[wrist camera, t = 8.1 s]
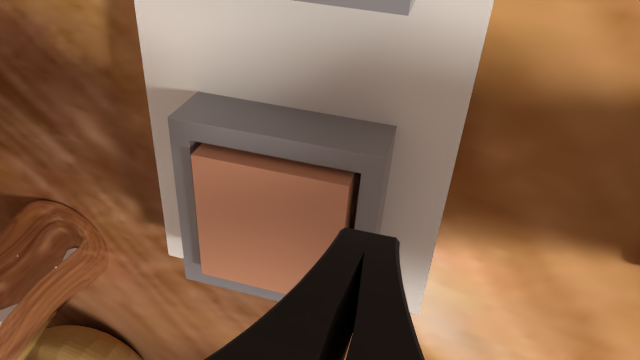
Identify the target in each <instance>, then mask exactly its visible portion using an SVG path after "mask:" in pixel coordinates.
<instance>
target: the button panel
mask: <svg viewBox="0 0 640 360" xmlns="http://www.w3.org/2000/svg"><path fill="white" fill-rule="evenodd" d="M493 3H494V0H134V4H135V12H136V19H137V26H138V33H139V41H140V48H141V55H142V63H143V70H144V77H145V85H146V92H147V99H148V106H149V114H150V121H151V128H152V136H153V143H154V150H155V158H156V165H157V172H158V179H159V187H160V194H161V201H162V209H163V216H164V223H165V231H166V238H167V245H168V252H169V255H171V256H175V257H179V258H183V259H184V265H185V273H186V279H190V280H194V281H198V282H202V283H206V284H210V285H214V286H218V287H222V288H226V289H230V290H234V291H238V292H242V293H246V294H250V295H254V296H259V297H263V298H267V299H271V300H275V301H280V300H281V299H282V298H283V297H284V296H285V295H286V294H283V293H279V292H275V291H271V290H267V289H263V288H259V287H254V286H250V285H246V284H242V283H238V282H234V281H230V280H226V279H222V278H218V277H214V276H210V275H206V274H202V270H201V259H200V249H199V238H198V227H197V216H196V205H195V195H194V184H193V173H192V162H191V154H192V153H193V152H194V151H195V150H196V149H197V148H198V147H199V146H200V145H201V144H202V143H207V144H212V145H217V146H222V147H227V148H233V149H238V150H243V151H248V152H253V153H258V154H263V155H269V156H274V157H279V158H284V159H289V160H294V161H299V162H305V163H310V164H315V165H320V166H325V167H330V168H336V169H341V170H346V171H351V172H356V173H361V179H360V187H359V195H358V204H357V212H356V220H355V228H354V229H356V230H361V231H366V232H371V233H376V234H381V235H386V236H391V237H396V238H397V239H398V241H399V242H400V248H399V255H400V267H401V274H402V281H403V286H404V291H405V295H406V299H407V304H408V308H409V312H410V313H411V314H415V315H419V312H420V308H421V303H422V299H423V295H424V291H425V287H426V282H427V278H428V274H429V270H430V266H431V262H432V257H433V253H434V249H435V245H436V241H437V236H438V232H439V228H440V224H441V220H442V216H443V211H444V207H445V203H446V199H447V195H448V191H449V186H450V182H451V178H452V174H453V170H454V165H455V161H456V157H457V153H458V149H459V145H460V140H461V136H462V132H463V128H464V124H465V120H466V115H467V111H468V107H469V103H470V99H471V94H472V90H473V86H474V82H475V78H476V74H477V69H478V65H479V61H480V57H481V53H482V49H483V44H484V40H485V36H486V32H487V28H488V23H489V19H490V15H491V11H492V7H493Z"/></svg>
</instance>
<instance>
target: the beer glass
mask: <svg viewBox="0 0 640 360" xmlns="http://www.w3.org/2000/svg"><path fill="white" fill-rule="evenodd" d="M107 263H108V254H107V249H106V246H105V244H104V241H103V239H102V238H101V236H100V234H99V233H98V232H97V230H96V229H95V228H94V227H93V226H92V225H91V223H90V222H88V221H87V220H86V219H85V218H84V217H83V216H81V215H80V214H79V213H77V212H76V211H74V210H73V209H71V208H69V207H67V206H65V205H62V204H60V203H56V202H52V201H46V200H38V201H33V202H30V203H28V204H26V205H25V206H24V207H22V208H21V209H20V210H19V211H18V212H17V214H16V215H15V216H14V217H13V218H12V219H11V221H10V222H9V223H8V224H7V225H6V226H5V228H4V229H3V230H2V231H1V232H0V360H26V358H27V356H28V355H29V353H30V352H31V350H32V349H33V347H34V345H35V344H36V342H37V341H38V339H39V338H40V336H41V335H42V333H43V332H44V330H45V329H46V327H47V326H48V324H49V323H50V321H51V320H52V319H53V318H54V316H55V315H56V314H57V313H58V311H59V310H60V309H61V308H62V307H63V306H64V305H65V304H66V303H67V302H68V301H69V300H70V299H71V298H72V297H74V296H75V295H76V294H77V293H79V292H80V291H81V290H83V289H84V288H85V287H87V286H88V285H89V284H91V283H92V282H93V281H95V280H96V279H97V278H98V277H99V276H100V275H101V274H102V273H103V272H104V271H105V269H106V267H107Z"/></svg>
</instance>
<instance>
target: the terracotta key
mask: <svg viewBox="0 0 640 360" xmlns="http://www.w3.org/2000/svg"><path fill="white" fill-rule="evenodd" d="M191 162H192V173H193V184H194V195H195V205H196V216H197V227H198V238H199V249H200V259H201V270H202V274H206V275H210V276H214V277H218V278H222V279H226V280H230V281H234V282H238V283H242V284H246V285H250V286H254V287H259V288H263V289H267V290H271V291H275V292H279V293H283V294H287V293H288V292H289V291H290V290H291V289H292V288H294V287H295V286H296V285H297V283H298V282H299V281H300V280H301V279H302V278H303V277H304V276H305V275H306V274H307V273H308V271H309V270H310V269H311V268H312V267H313V266H314V265H315V264H316V262H317V261H318V260H319V259H320V258H321V256H322V255H323V254H324V253H325V251H326V250H327V249H328V248H329V246H330V245H331V243H332V242H333V241H334V239H335V238H336V236H337V235H338V233H339V231H340V230H342V229H343V228H345V227H346V228H351V229H354V228H355V220H356V212H357V204H358V195H359V187H360V179H361V173H356V172H351V171H346V170H341V169H336V168H330V167H325V166H320V165H315V164H310V163H305V162H299V161H294V160H289V159H284V158H279V157H274V156H269V155H263V154H258V153H253V152H248V151H243V150H238V149H233V148H227V147H222V146H217V145H212V144H207V143H202V144H201V145H200V146H199V147H198V148H197V149H196V150H195V151H194V152H193V153H192V154H191Z"/></svg>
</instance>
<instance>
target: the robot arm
mask: <svg viewBox="0 0 640 360" xmlns="http://www.w3.org/2000/svg"><path fill="white" fill-rule="evenodd" d="M399 248H400V242H399V241H398V239H397V238H396V237H391V236H386V235H381V234H376V233H371V232H366V231H361V230H356V229H351V228H346V227H345V228H343V229H342V230H340V231H339V233H338V235H337V236H336V238H335V239H334V241H333V242H332V243H331V245H330V246H329V248H328V249H327V250H326V251H325V253H324V254H323V255H322V256H321V258H320V259H319V260H318V261H317V262H316V264H315V265H314V266H313V267H312V268H311V269H310V270H309V271H308V273H307V274H306V275H305V276H304V277H303V278H302V279H301V280H300V281H299V282H298V283H297V285H296V286H295V287H294V288H292V289H291V290H290V291H289V292H288V293H287V294H286V295H285V296H284V297H283V298H282V299H281V300H280V301H279V302H278V303H277V304H276V305H275V306H274V307H273V308H272V309H271V310H269V311H268V312H267V313H266V314H265V315H264V316H263V317H261V318H260V319H259V320H258V321H257V322H255V323H254V324H253V325H252V326H250V327H249V328H248V329H247V330H245V331H244V332H243V333H241V334H240V335H239V336H237V337H236V338H235V339H233V340H232V341H231V342H229V343H228V344H227V345H225V346H224V347H222V348H221V349H220V350H218V351H217V352H215V353H214V354H212V355H211V356H209V357H208V358H206V359H205V360H344V357H345V354H346V351H347V348H348V345H349V342H350V339H351V336H352V339H351V342H350V346H349V350H348V354H347V358H346V360H425V359H424V356H423V354H422V351H421V348H420V345H419V342H418V339H417V336H416V333H415V329H414V326H413V323H412V319H411V316H410V312H409V308H408V304H407V299H406V295H405V291H404V286H403V281H402V274H401V267H400V255H399ZM352 333H353V335H352Z"/></svg>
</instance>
